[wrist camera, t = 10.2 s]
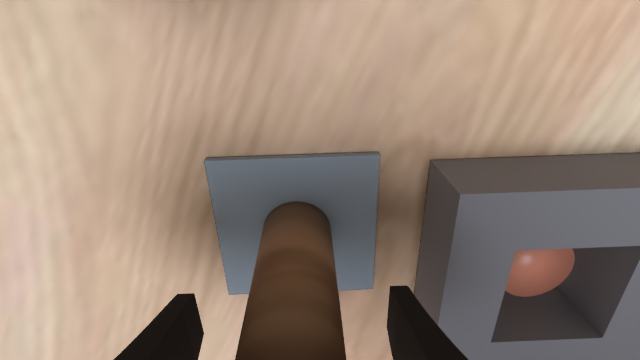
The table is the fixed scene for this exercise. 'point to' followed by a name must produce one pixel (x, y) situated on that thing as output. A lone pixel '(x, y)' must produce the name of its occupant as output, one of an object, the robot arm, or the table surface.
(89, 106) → the table surface
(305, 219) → the dowel
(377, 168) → the mat
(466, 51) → the table surface
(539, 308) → the frame
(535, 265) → the orange domed disc
